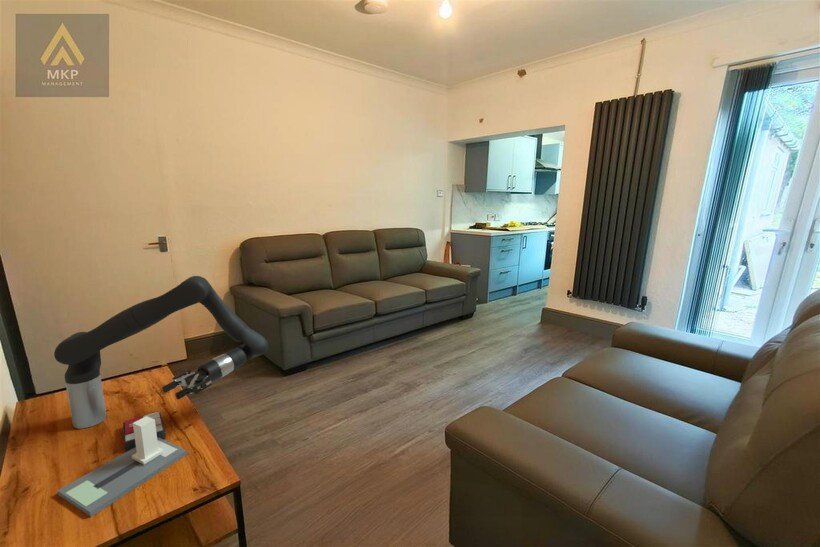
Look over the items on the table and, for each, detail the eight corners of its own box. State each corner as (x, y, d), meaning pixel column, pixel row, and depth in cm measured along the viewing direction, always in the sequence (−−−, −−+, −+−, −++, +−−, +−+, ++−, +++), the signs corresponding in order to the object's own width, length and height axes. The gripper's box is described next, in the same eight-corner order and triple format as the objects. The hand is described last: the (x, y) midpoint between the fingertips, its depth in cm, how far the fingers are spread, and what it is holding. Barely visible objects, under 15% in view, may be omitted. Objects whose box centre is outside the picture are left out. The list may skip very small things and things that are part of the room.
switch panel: (58, 495, 99) (57, 490, 99) (155, 439, 123) (155, 435, 122) (90, 517, 93) (90, 512, 93) (187, 454, 117) (186, 450, 116)
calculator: (160, 409, 134) (164, 428, 123) (161, 420, 135) (165, 439, 123) (122, 420, 127) (123, 440, 116) (124, 431, 128) (125, 452, 117)
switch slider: (131, 458, 112) (127, 423, 109) (152, 446, 117) (148, 413, 114) (144, 464, 109) (139, 429, 107) (164, 452, 115) (160, 418, 112)
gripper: (203, 355, 133) (155, 378, 119) (225, 363, 125) (177, 388, 112) (208, 373, 135) (161, 397, 122) (230, 381, 127) (184, 409, 114)
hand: (169, 393), depth 117 cm, fingers open, 8 cm apart
